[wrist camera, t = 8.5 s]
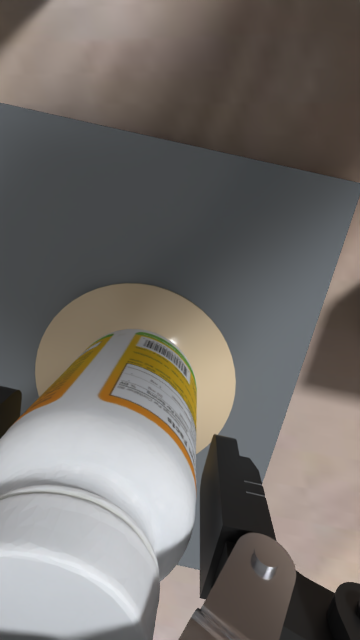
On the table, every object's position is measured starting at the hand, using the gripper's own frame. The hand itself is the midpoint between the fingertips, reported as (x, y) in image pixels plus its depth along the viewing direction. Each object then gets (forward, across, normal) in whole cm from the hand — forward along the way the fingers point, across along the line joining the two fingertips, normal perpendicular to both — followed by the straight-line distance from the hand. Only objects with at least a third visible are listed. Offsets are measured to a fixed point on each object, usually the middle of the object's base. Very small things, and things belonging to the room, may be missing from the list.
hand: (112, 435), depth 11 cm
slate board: (+5, 0, 0) cm, 5 cm away
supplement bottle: (+4, 0, 0) cm, 4 cm away
